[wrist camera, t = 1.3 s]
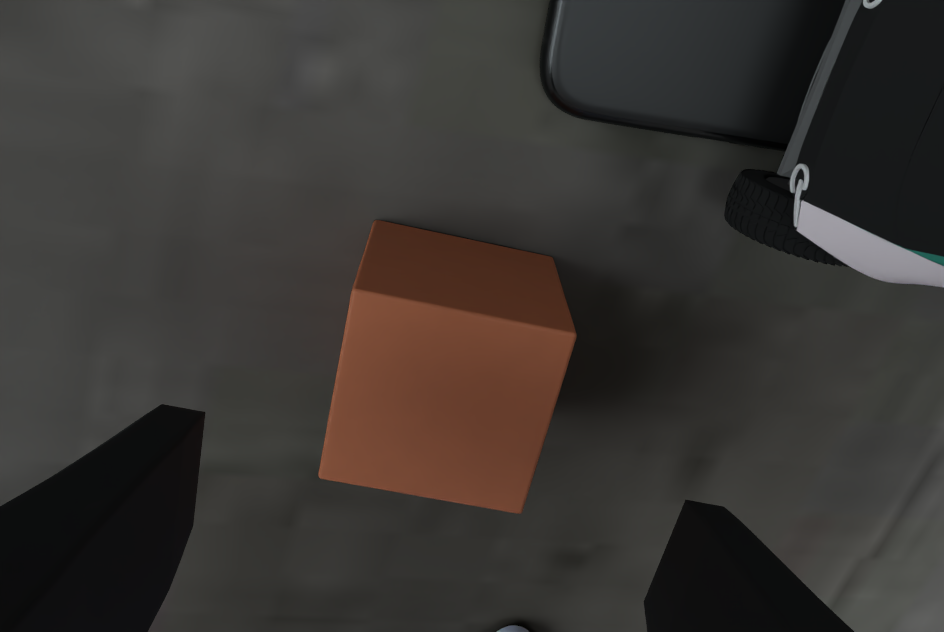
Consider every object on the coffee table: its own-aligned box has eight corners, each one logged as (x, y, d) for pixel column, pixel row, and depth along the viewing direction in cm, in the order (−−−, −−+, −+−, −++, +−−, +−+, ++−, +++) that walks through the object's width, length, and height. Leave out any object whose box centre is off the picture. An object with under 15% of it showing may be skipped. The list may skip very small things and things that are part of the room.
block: (509, 409, 19) (521, 515, 16) (344, 378, 19) (317, 479, 15) (553, 255, 18) (578, 334, 14) (374, 218, 17) (351, 288, 14)
